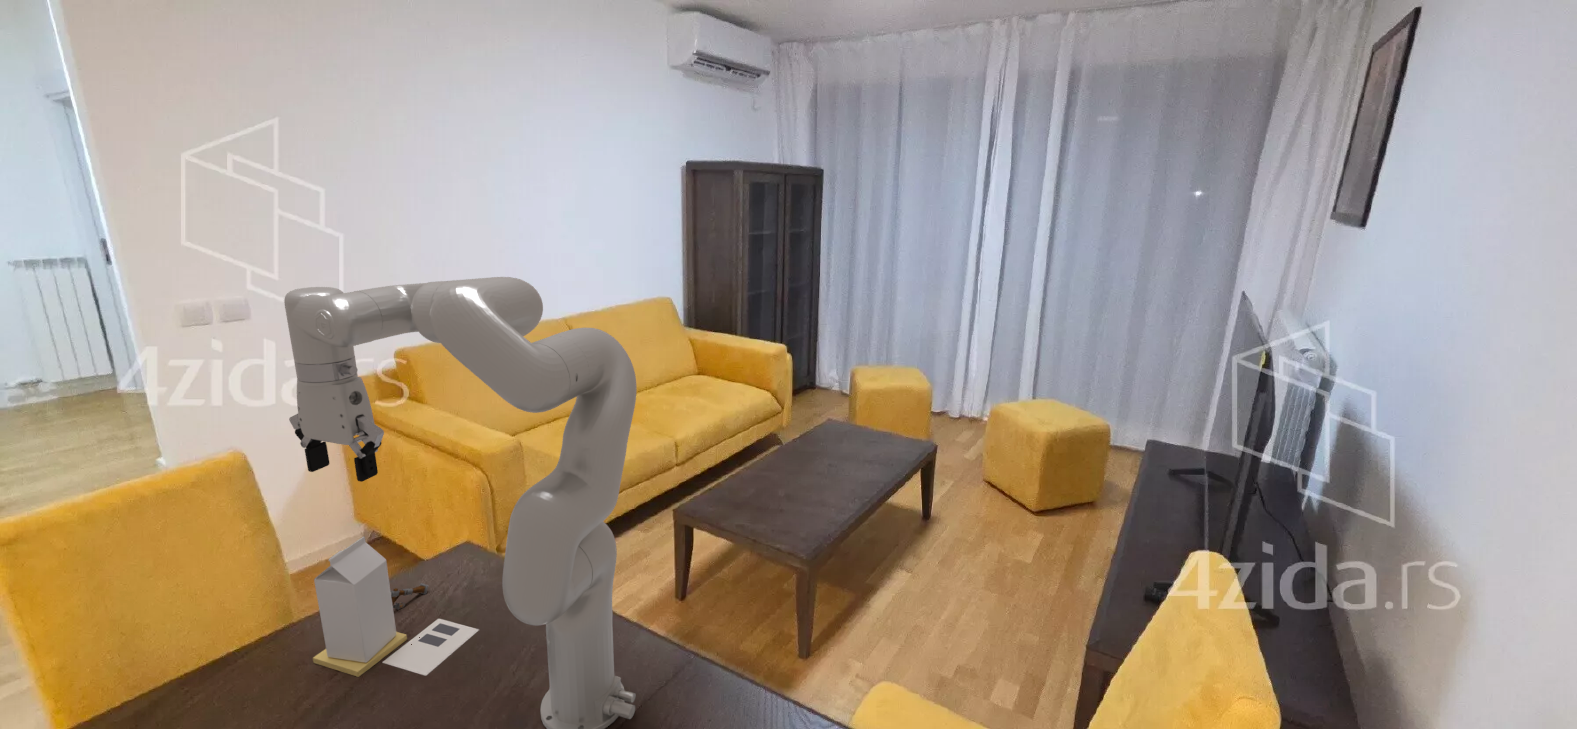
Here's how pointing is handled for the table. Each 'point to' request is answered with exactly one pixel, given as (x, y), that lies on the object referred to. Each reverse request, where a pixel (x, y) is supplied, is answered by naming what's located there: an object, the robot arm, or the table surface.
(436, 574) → the table surface
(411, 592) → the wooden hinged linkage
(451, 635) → the tile
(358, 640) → the milk carton
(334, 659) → the coaster
